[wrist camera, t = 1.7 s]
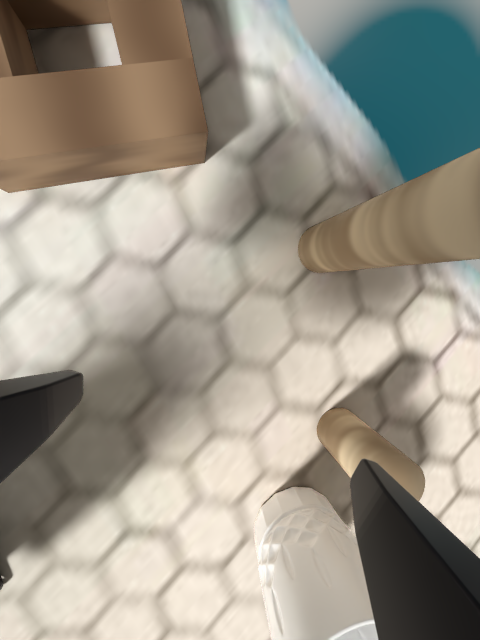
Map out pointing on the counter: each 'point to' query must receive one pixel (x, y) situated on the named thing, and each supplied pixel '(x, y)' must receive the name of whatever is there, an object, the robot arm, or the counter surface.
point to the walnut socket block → (98, 96)
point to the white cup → (311, 570)
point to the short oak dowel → (367, 449)
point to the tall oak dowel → (404, 224)
